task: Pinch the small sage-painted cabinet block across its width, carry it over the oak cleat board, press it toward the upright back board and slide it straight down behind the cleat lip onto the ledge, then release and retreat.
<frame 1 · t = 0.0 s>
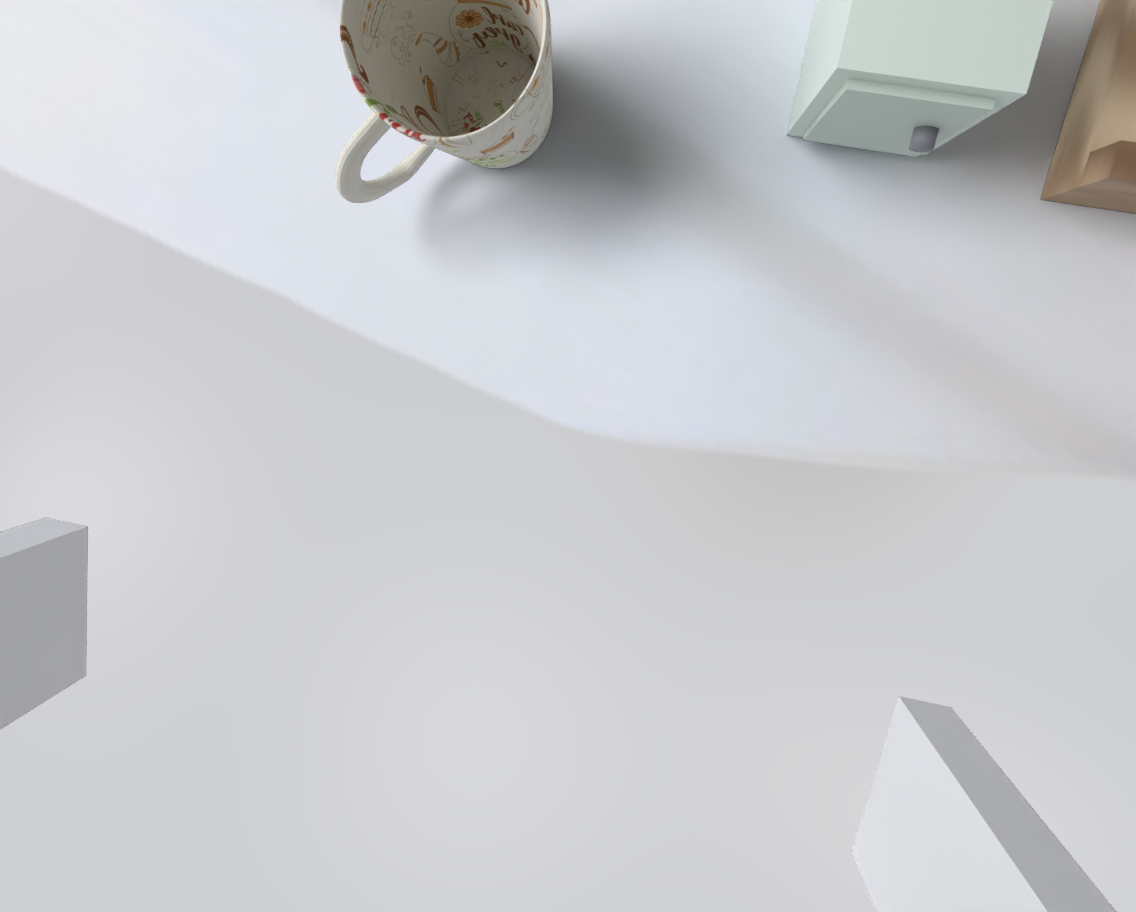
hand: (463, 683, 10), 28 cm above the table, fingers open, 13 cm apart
mug: (470, 139, 36), on the table
cabinet block: (873, 70, 33), on the table
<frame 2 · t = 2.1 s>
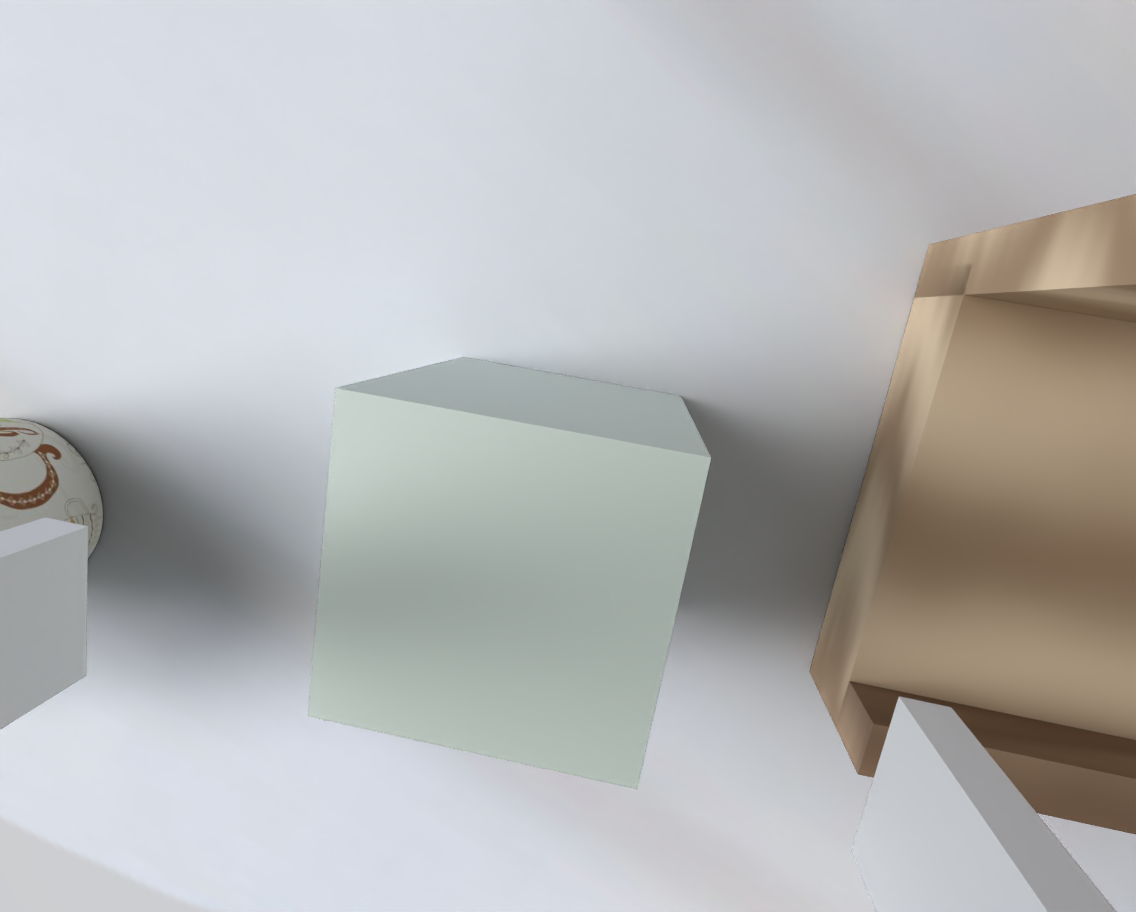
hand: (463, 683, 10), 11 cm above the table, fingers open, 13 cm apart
cleat board: (1064, 515, 20), on the table
mug: (2, 533, 24), on the table
cabinet block: (553, 481, 21), on the table
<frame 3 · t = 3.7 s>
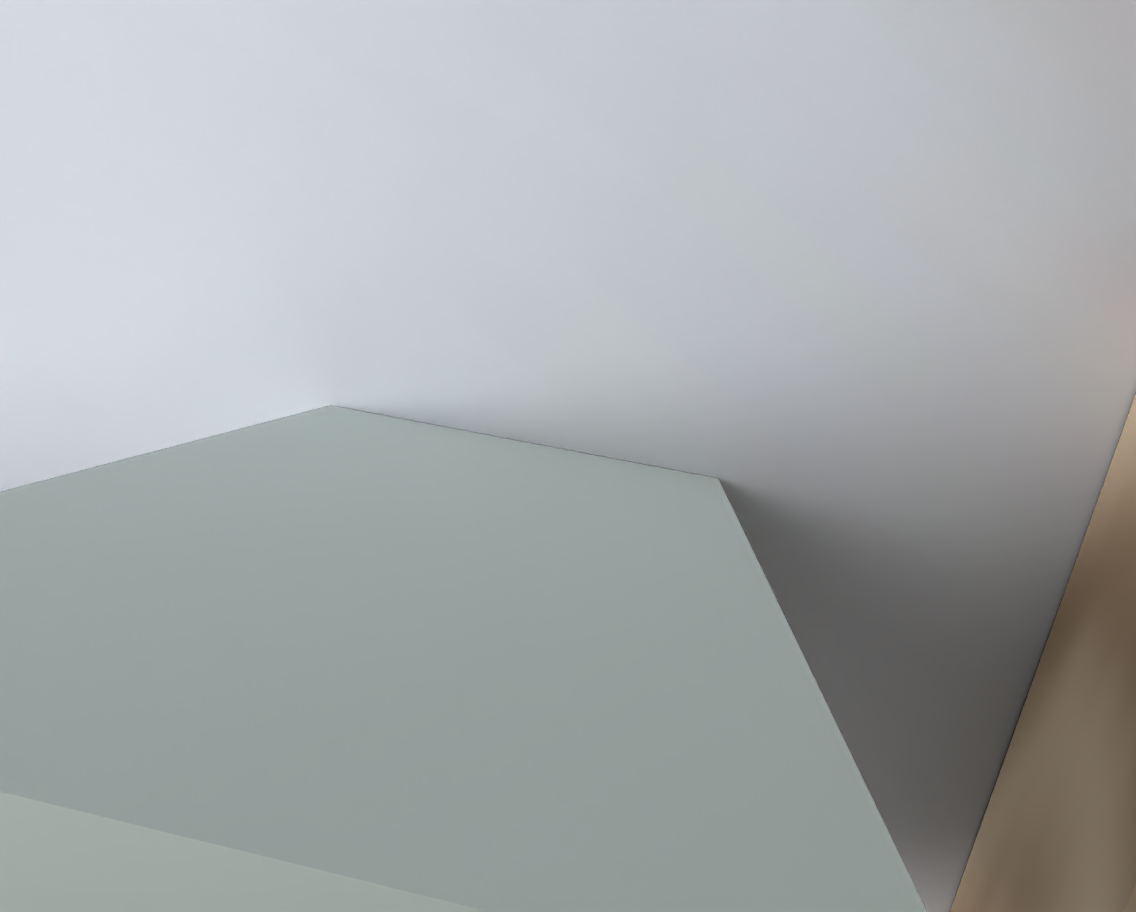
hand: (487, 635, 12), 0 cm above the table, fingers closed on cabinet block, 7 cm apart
cabinet block: (491, 621, 12), on the table, touching gripper
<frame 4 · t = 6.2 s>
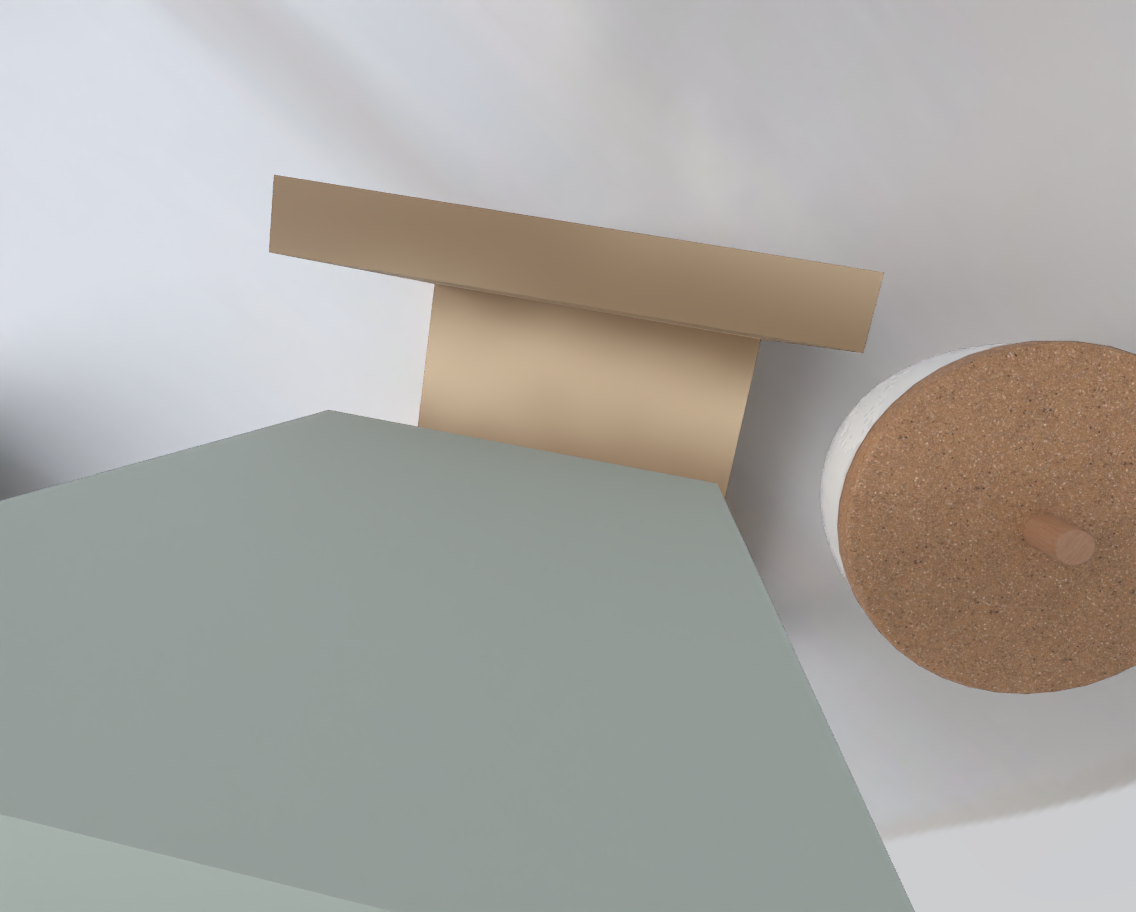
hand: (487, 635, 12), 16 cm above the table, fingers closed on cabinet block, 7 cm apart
cleat board: (577, 443, 28), on the table
lidded jar: (923, 469, 27), on the table
cabinet block: (490, 626, 12), point 16 cm above the table, touching gripper
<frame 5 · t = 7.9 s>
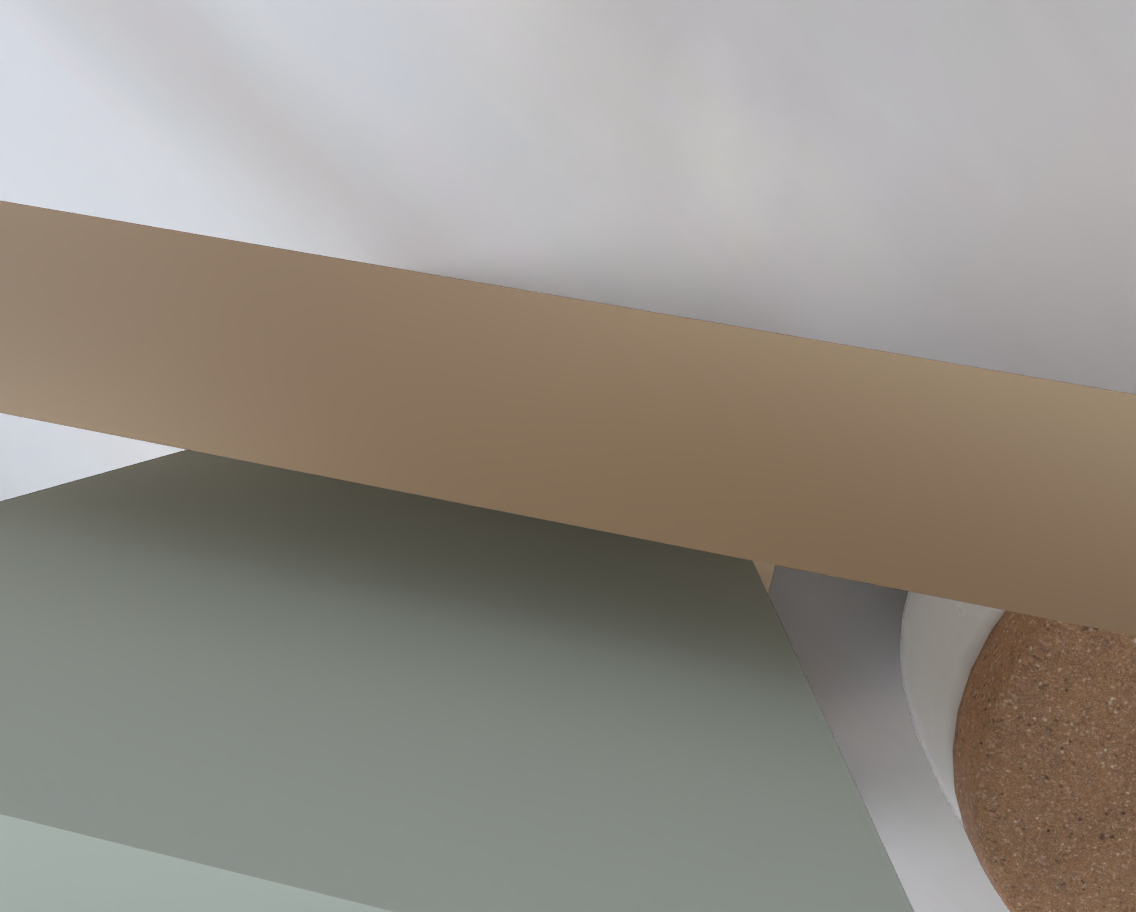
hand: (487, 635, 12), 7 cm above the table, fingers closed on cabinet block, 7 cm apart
cleat board: (538, 547, 19), on the table
lidded jar: (1039, 592, 18), on the table
cabinet block: (490, 626, 12), point 7 cm above the table, touching gripper
when the fingers open (4 cm above the table, at t = 8.9 s): cabinet block stays where it is, resting on cleat board.
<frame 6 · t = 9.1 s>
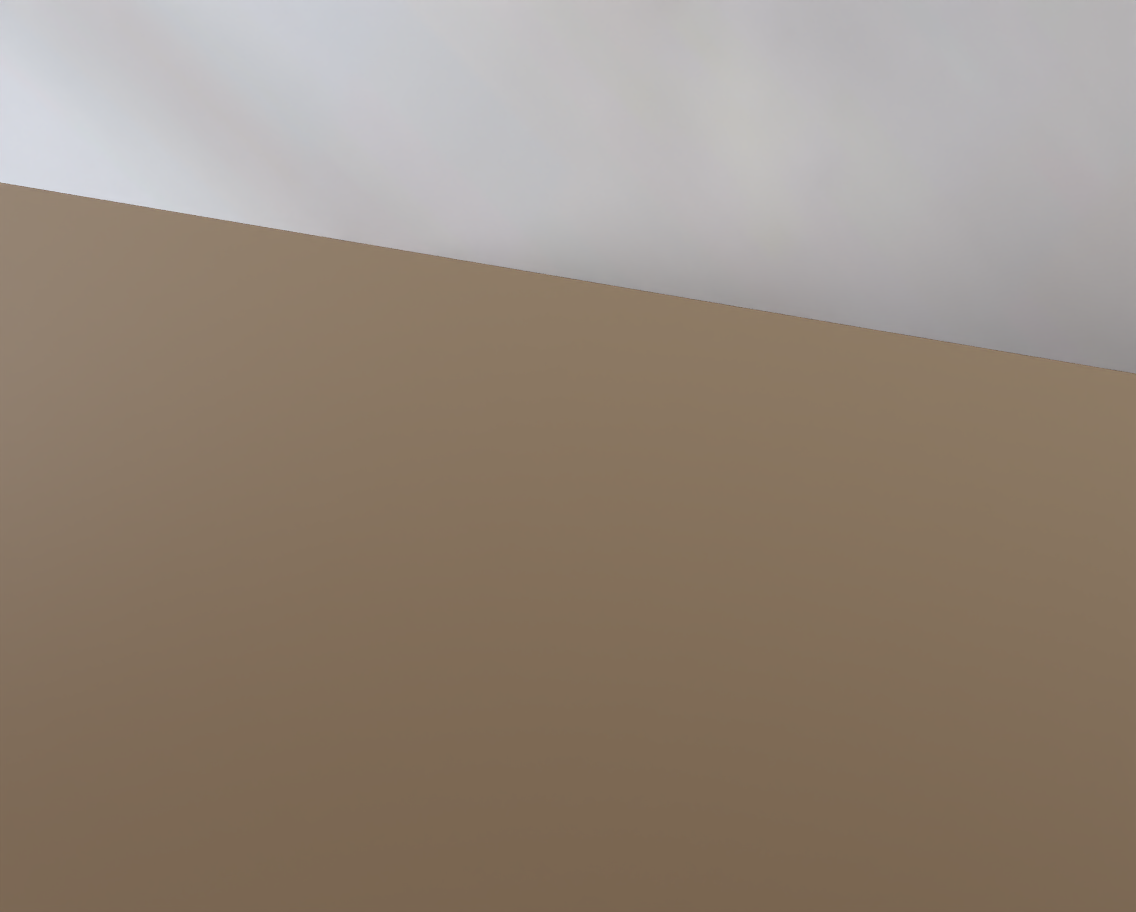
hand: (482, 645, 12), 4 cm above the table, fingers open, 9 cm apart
cleat board: (519, 596, 16), on the table
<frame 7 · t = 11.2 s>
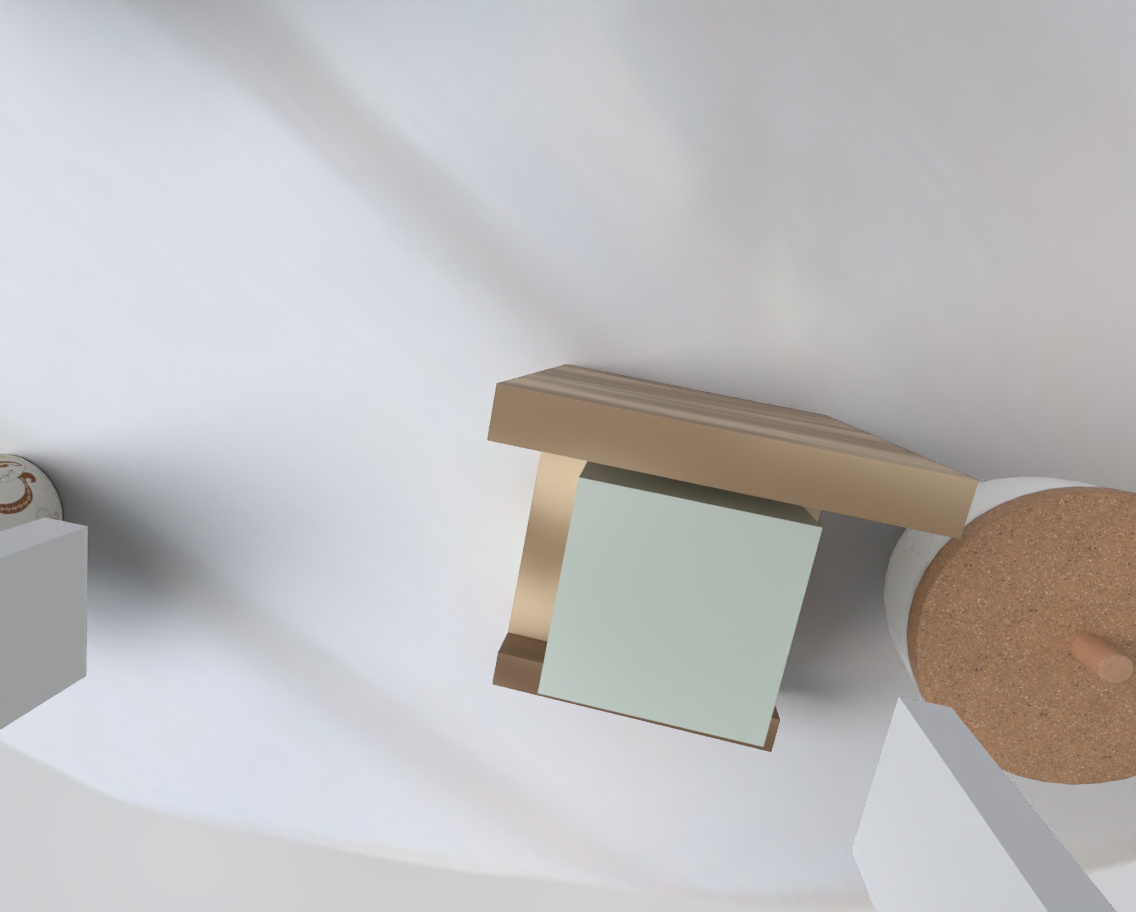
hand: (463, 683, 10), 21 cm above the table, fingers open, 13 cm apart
cleat board: (661, 533, 31), on the table
lidded jar: (971, 566, 30), on the table
cabinet block: (665, 529, 28), point 3 cm above the table, touching cleat board
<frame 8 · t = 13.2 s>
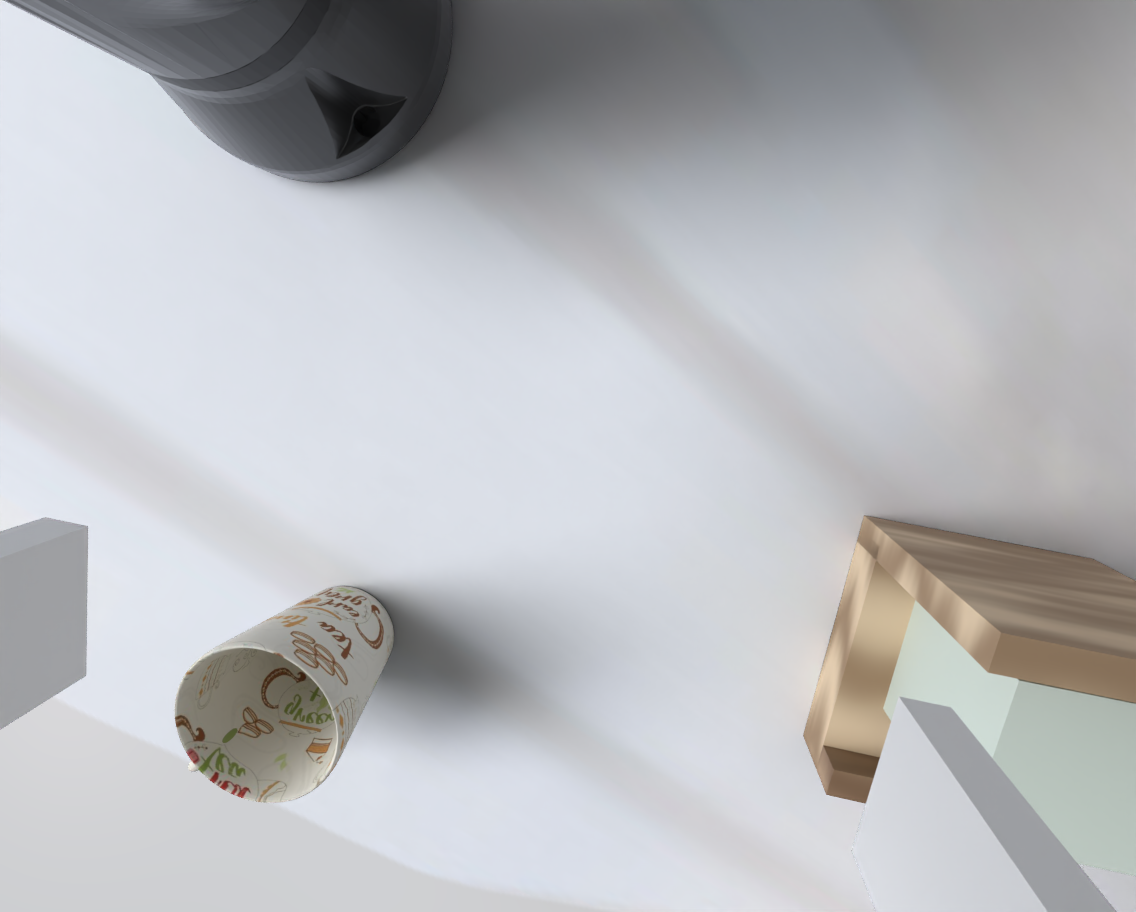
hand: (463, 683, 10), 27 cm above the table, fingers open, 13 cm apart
cleat board: (939, 653, 37), on the table
mug: (327, 648, 41), on the table
cabinet block: (970, 662, 34), point 3 cm above the table, touching cleat board
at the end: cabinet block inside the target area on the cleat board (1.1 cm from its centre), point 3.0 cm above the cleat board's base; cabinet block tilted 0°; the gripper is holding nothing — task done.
